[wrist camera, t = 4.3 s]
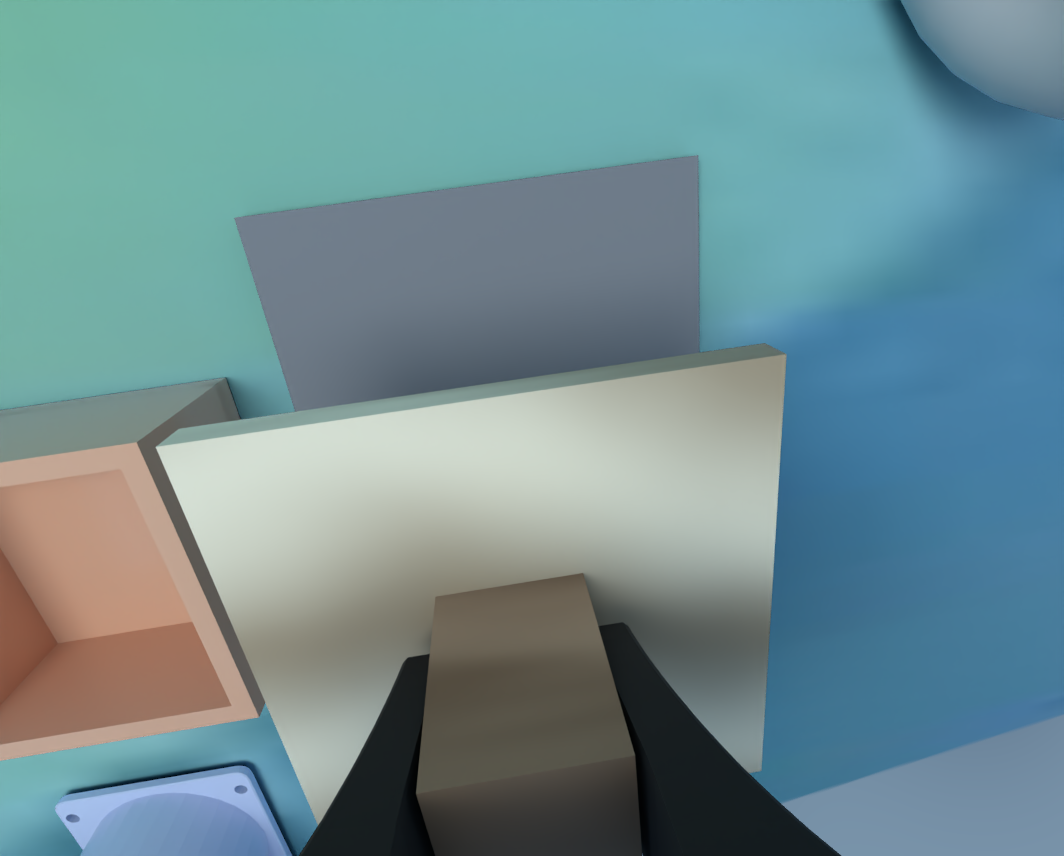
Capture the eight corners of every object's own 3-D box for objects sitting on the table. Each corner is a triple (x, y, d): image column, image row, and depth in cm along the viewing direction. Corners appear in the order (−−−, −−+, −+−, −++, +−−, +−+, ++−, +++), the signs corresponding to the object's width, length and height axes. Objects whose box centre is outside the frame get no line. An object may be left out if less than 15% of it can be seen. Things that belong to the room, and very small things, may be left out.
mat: (695, 630, 23) (700, 640, 23) (386, 681, 23) (384, 693, 22) (690, 156, 16) (698, 155, 16) (242, 217, 16) (234, 217, 15)
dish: (306, 603, 21) (258, 717, 16) (63, 642, 21) (-55, 769, 16) (225, 377, 18) (136, 442, 13) (-69, 420, 17) (-268, 502, 13)
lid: (746, 742, 15) (861, 972, 11) (335, 814, 14) (273, 1085, 10) (764, 343, 11) (970, 448, 6) (178, 429, 10) (-48, 608, 6)
